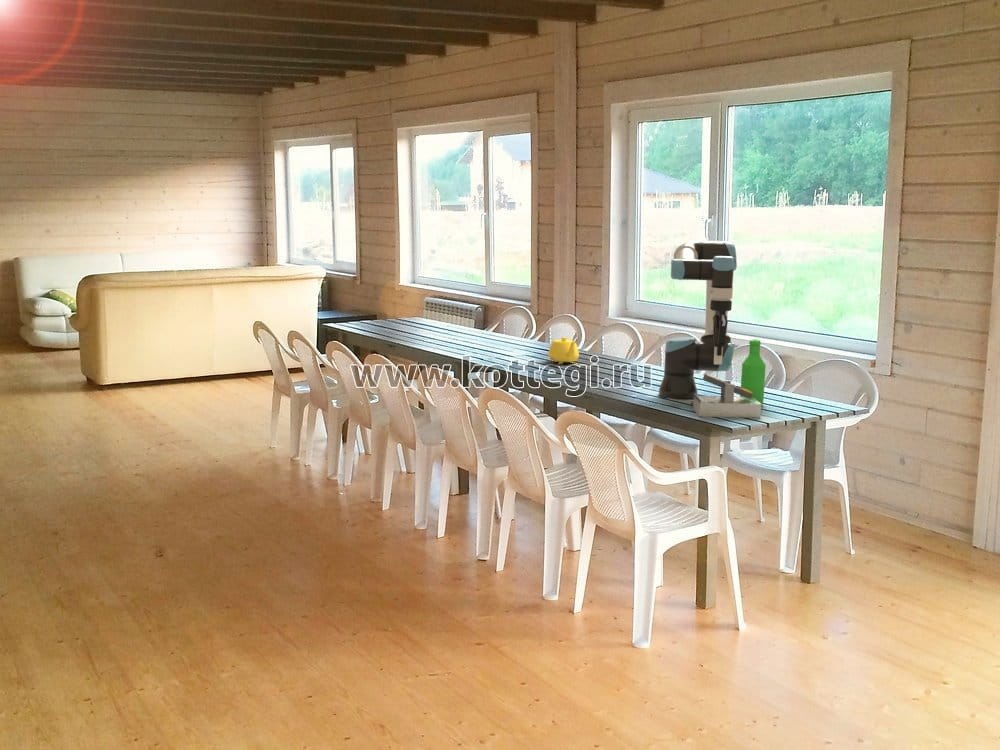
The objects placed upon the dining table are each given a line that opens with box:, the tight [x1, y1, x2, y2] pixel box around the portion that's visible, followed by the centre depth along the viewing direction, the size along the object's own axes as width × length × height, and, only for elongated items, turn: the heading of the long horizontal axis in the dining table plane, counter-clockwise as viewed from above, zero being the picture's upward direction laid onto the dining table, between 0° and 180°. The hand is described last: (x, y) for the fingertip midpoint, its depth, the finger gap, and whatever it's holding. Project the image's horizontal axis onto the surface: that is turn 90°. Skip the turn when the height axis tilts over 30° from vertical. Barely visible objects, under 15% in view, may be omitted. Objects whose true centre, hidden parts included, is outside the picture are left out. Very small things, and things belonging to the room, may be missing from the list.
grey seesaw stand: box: [692, 380, 762, 419], centre depth 370 cm, size 14×22×11 cm, turn 88°
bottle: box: [739, 339, 767, 406], centre depth 386 cm, size 9×9×25 cm
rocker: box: [702, 372, 753, 399], centre depth 369 cm, size 6×18×2 cm, turn 88°
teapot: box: [548, 336, 580, 364], centre depth 481 cm, size 13×20×12 cm
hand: (717, 364), depth 368 cm, fingers closed
